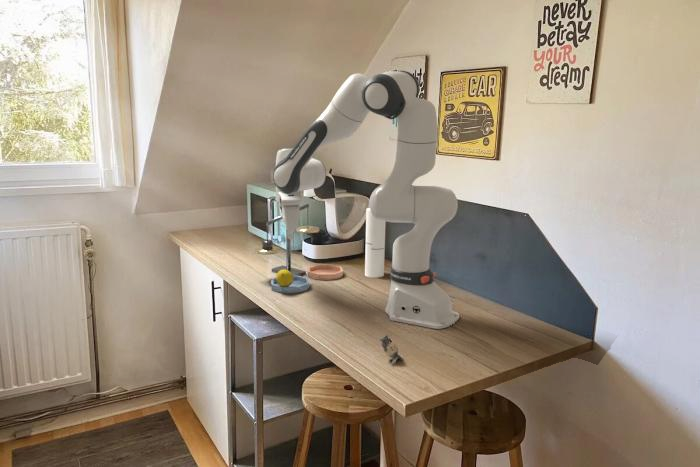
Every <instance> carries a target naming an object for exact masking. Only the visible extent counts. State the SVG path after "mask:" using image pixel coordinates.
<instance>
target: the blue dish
mask: <svg viewBox="0 0 700 467" xmlns="http://www.w3.org/2000/svg"><path fill="white" fill-rule="evenodd" d="M309 288H310V280H309V278H308V277H303V276H293V282H292V284H291V285H290V286H288V287H283V286H280V285H279V284H278V282H277V279H276V277H274V278H272V279H270V289H271V290H272V291H274V293H275V292H276V293H280V294H287V295H288V294H300V293H303V292H307V290H309Z"/></svg>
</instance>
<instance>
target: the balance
mask: <svg viewBox="0 0 700 467" xmlns="http://www.w3.org/2000/svg"><path fill="white" fill-rule="evenodd" d="M309 207H310V204H309V203H307V204H304V205H301V206H300V209H299V212H301V211H302V210H305V209H306V210H307V211H306V214H307V215H306V222H307V223H306V225H304V226H303V225H301V226H298V228H297V229H295V231H296V232H297V233H302V234H313V233H319V232H320V227H318V226H313V225H309ZM280 220H283V218H282V215H280V216H279V215H278V216H277V217H275V218H273V219H271V220H268V221H266V222H265V225H266V239H263V240H262V244H261V245H262V246H257V247H255V248H254V253H256V254H257V255H276V254H279V253H280V252H281V248H280V247H279V246H274V245H273V243H274V242H273V240H272V239H269V228H268V227H269V225H272V224H273V223H276V222H278V221H280ZM285 234H286V233H285ZM285 236H286V237H285V238H286V239H285V242H286V245H285V246H286V253H285V254H286V264H285V265H280V266H275V267H273V268H271V273H275V274H277V273H278V272H279V271H280V270H284V269H285V270H288V271H290V272H291V274H292V275H293V276H301V277H303V276H304V275H307V271H306V270H302V269H299V268H294V267H292V264H291V263H292V262H291V261H292V259H291V258H292V257H291V256H292V253H291V252H292V250H291V249H292V247H291V246H292V244H291V243H292V241H291V240H292V239H288V235H287V234H286V235H285Z"/></svg>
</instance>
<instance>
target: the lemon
mask: <svg viewBox="0 0 700 467" xmlns="http://www.w3.org/2000/svg"><path fill="white" fill-rule="evenodd" d="M275 278H276V279H277V282H278V284H279V285H280V286H283V287H288V286H290V285H291V284H292V282H293V275H292V274H291V272H290V271H288V270H285V269H284V270H280V271H279V272H278V273H276V277H275Z"/></svg>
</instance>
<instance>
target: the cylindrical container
mask: <svg viewBox="0 0 700 467" xmlns="http://www.w3.org/2000/svg"><path fill="white" fill-rule="evenodd" d="M365 210H366V212H365V215H366V216H365V252H364V253H365V255H364V256H365V258H364V276H365V277H367V278H372V279H373V278H375V279H378V278H379V279H380V278H383V277H384V274H385V255H386V254H385V253H386V252H385V250H386V243H385V242H386V222H387V221H382V220H378V219H376V218H375V217H374V216H373V215H372V213H371V211H370V207H368V208H366V209H365Z"/></svg>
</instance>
